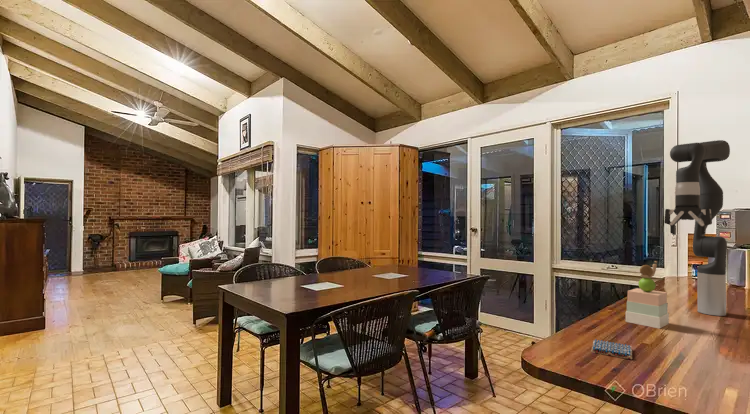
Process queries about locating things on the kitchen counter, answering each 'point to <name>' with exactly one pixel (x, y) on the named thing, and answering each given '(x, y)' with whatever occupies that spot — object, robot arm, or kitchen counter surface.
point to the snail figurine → (647, 278)
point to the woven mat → (612, 349)
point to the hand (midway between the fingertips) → (687, 235)
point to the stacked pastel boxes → (647, 308)
